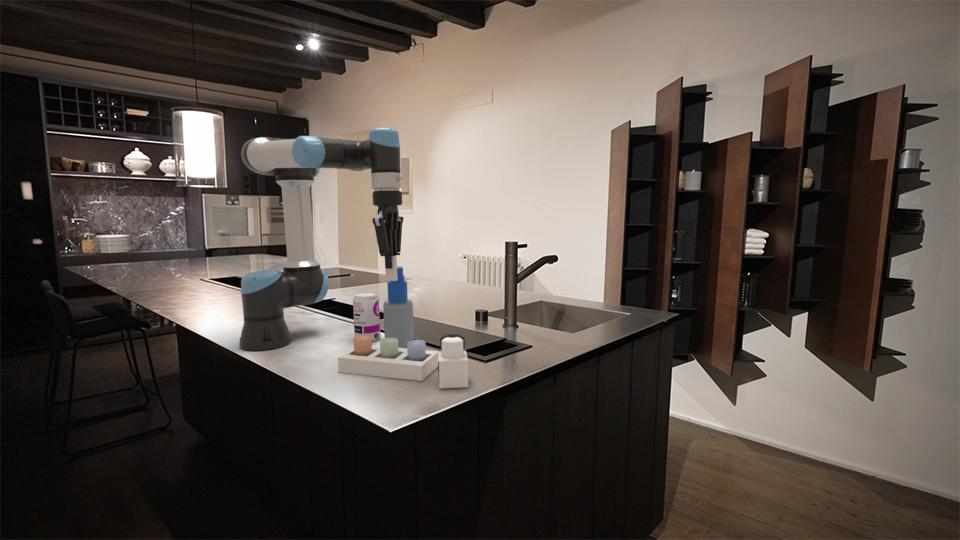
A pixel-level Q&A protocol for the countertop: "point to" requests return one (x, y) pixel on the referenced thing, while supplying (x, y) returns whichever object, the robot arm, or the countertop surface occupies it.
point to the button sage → (389, 348)
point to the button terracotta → (362, 345)
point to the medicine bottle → (452, 362)
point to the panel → (388, 365)
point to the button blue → (416, 350)
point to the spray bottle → (398, 311)
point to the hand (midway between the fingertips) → (391, 280)
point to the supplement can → (366, 315)
